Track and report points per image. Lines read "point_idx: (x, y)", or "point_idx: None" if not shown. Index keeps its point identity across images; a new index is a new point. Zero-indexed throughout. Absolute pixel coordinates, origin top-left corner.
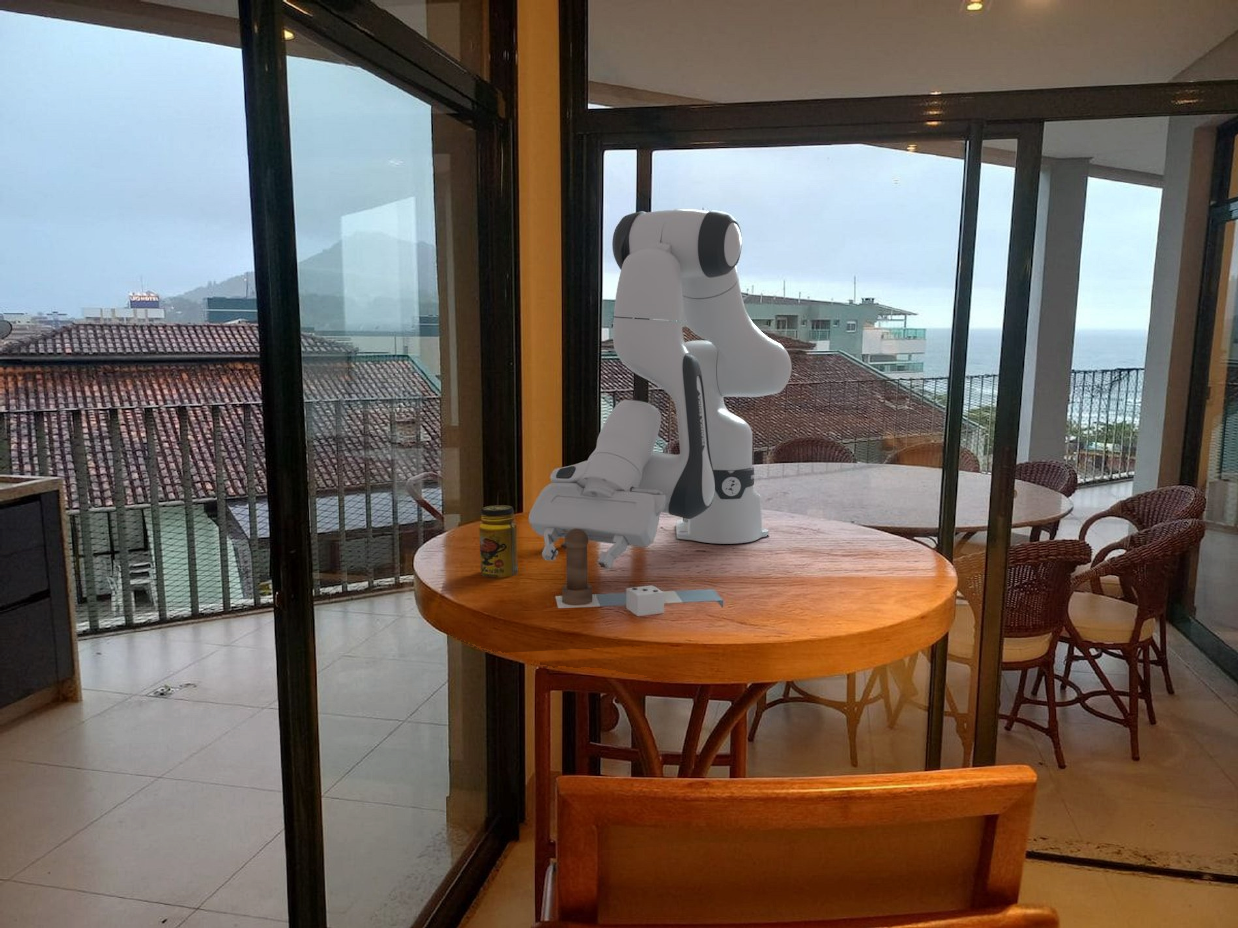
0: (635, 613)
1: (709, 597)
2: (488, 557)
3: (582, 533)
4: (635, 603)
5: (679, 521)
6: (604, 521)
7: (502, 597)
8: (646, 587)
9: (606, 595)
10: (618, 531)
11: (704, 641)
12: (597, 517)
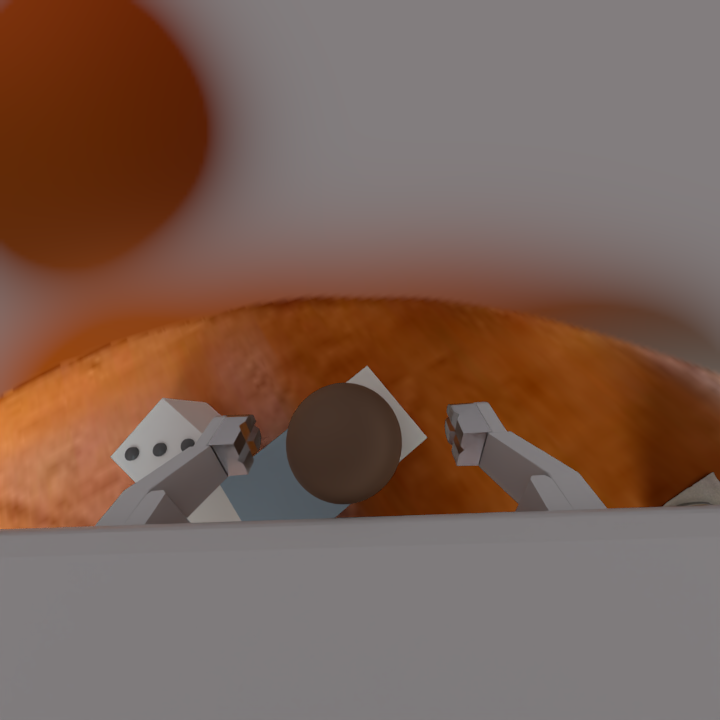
0: (203, 408)
1: None
2: None
3: (293, 432)
4: (188, 407)
5: None
6: (160, 603)
7: (554, 411)
8: None
9: (324, 507)
10: (89, 531)
11: (69, 373)
12: (221, 650)
